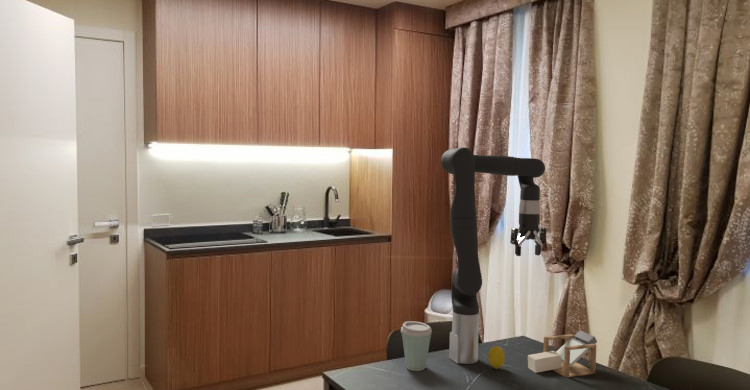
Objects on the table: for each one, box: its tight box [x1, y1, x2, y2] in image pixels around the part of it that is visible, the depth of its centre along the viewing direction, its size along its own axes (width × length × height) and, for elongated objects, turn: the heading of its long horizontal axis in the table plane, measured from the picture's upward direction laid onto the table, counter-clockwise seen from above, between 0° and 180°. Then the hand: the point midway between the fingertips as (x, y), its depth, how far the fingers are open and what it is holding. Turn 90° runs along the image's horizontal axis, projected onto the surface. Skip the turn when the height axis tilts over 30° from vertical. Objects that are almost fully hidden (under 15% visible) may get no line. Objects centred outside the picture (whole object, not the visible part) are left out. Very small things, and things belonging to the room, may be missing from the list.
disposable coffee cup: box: [400, 320, 433, 372], centre depth 181 cm, size 11×11×15 cm
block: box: [527, 350, 561, 374], centre depth 183 cm, size 4×4×10 cm
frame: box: [542, 333, 597, 378], centre depth 183 cm, size 12×12×10 cm
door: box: [555, 330, 598, 366], centre depth 184 cm, size 13×9×2 cm
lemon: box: [487, 345, 506, 370], centre depth 182 cm, size 6×6×8 cm
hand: (527, 255), depth 200 cm, fingers open, 8 cm apart
